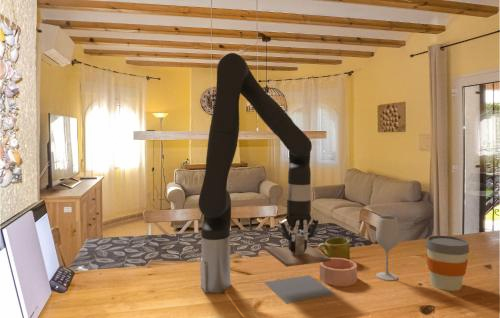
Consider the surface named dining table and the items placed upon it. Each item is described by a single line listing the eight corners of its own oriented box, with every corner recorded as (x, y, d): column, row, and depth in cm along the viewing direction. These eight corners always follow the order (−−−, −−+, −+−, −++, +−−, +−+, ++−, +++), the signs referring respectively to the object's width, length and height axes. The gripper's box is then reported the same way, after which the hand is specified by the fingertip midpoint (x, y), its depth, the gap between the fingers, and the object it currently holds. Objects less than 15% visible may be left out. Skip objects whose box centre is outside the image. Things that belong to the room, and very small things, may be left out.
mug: (350, 251, 155) (346, 230, 152) (354, 267, 146) (350, 245, 142) (320, 255, 157) (316, 235, 154) (322, 271, 148) (318, 250, 144)
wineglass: (373, 278, 131) (374, 218, 130) (377, 271, 138) (378, 214, 136) (396, 282, 128) (398, 220, 126) (399, 274, 134) (400, 216, 133)
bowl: (332, 290, 122) (332, 272, 121) (313, 277, 133) (313, 260, 133) (364, 285, 126) (364, 267, 125) (342, 272, 137) (342, 256, 137)
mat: (286, 306, 111) (286, 303, 111) (264, 284, 127) (264, 282, 127) (336, 296, 117) (336, 294, 117) (309, 277, 133) (309, 275, 133)
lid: (286, 266, 112) (287, 244, 111) (266, 251, 126) (267, 231, 125) (330, 261, 117) (331, 239, 116) (306, 246, 131) (307, 227, 130)
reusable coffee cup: (473, 285, 125) (475, 240, 124) (458, 296, 116) (460, 248, 115) (434, 274, 134) (435, 233, 133) (418, 284, 126) (419, 240, 125)
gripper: (283, 201, 114) (282, 257, 115) (324, 198, 119) (323, 252, 120) (273, 197, 121) (272, 250, 122) (312, 194, 126) (311, 245, 127)
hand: (297, 251), depth 121 cm, fingers closed on lid, 3 cm apart
